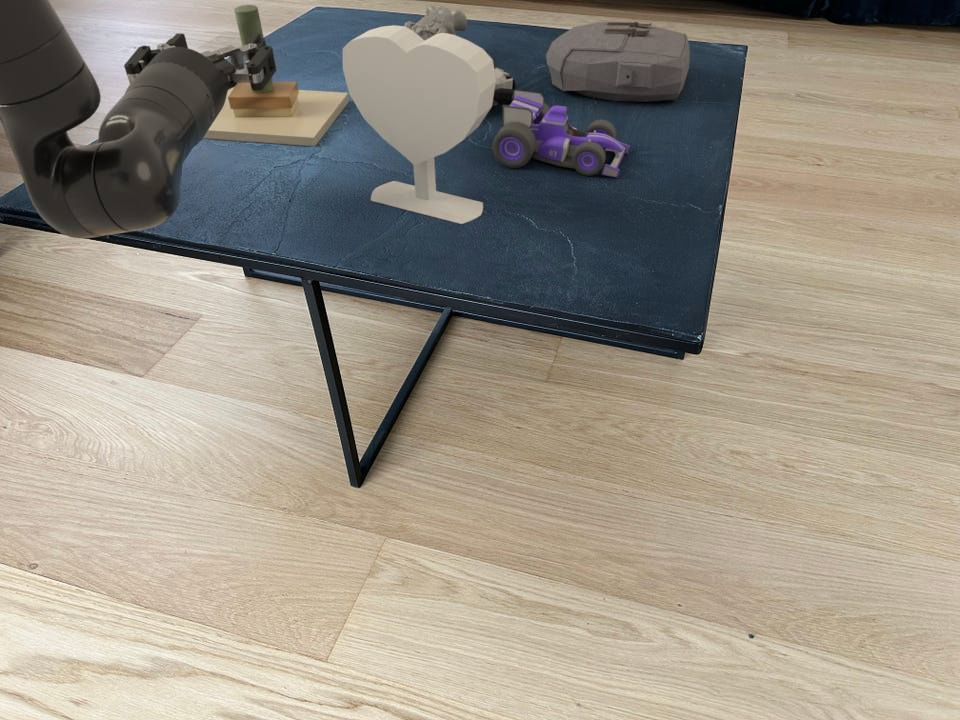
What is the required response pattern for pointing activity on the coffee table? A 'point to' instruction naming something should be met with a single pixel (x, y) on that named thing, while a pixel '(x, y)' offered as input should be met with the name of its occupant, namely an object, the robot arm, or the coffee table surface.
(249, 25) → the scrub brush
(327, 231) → the coffee table surface
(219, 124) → the tile board
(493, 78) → the heart sculpture
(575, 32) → the soft grey pack
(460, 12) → the elephant statuette
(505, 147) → the toy race car
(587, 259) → the coffee table surface
